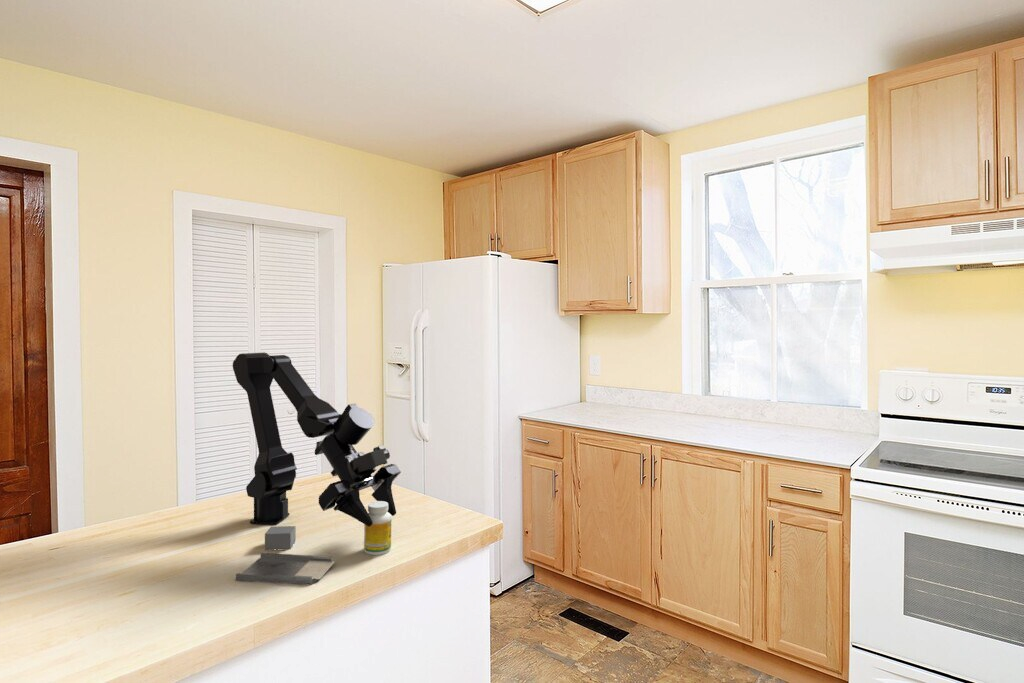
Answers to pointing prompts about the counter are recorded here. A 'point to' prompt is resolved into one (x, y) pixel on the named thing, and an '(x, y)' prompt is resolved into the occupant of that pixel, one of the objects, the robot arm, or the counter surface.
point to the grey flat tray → (287, 568)
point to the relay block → (280, 537)
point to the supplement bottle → (378, 529)
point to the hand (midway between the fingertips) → (383, 519)
